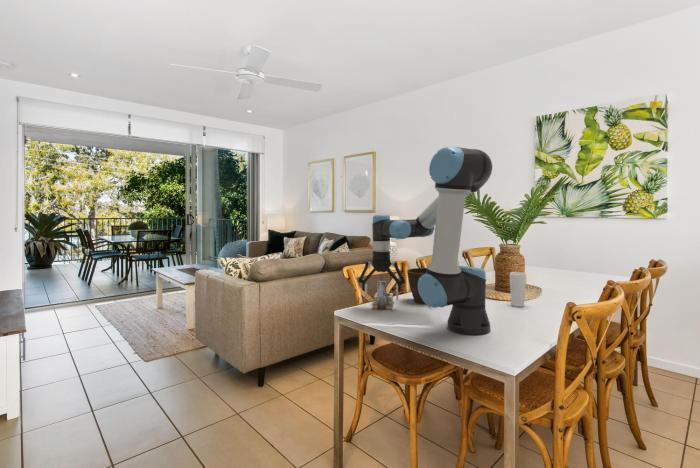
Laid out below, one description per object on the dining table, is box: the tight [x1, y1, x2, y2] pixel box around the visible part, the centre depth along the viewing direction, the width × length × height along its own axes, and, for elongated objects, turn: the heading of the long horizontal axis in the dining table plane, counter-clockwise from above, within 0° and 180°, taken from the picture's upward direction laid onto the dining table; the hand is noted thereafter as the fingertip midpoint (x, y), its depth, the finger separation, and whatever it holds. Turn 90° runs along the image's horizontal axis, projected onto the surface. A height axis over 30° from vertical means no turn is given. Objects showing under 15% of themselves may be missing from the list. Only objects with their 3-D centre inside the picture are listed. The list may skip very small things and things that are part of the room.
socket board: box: [370, 292, 395, 311], centre depth 166 cm, size 15×9×5 cm, turn 169°
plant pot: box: [406, 267, 427, 305], centre depth 171 cm, size 15×15×16 cm
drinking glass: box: [509, 271, 527, 308], centre depth 166 cm, size 7×7×15 cm
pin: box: [376, 280, 387, 311], centre depth 160 cm, size 4×4×12 cm
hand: (381, 298), depth 160 cm, fingers open, 13 cm apart
